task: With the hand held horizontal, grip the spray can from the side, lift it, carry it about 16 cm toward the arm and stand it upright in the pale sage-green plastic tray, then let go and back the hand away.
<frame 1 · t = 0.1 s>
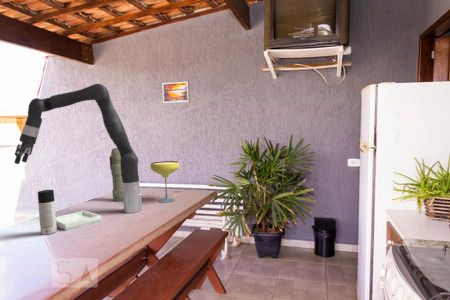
hand: (20, 162, 169), 31 cm above the table, tool tilted 20°, fingers open, 8 cm apart
cocktail glass: (166, 200, 205), on the table
spray can: (49, 233, 148), on the table
olive green statue: (120, 200, 211), on the table
sage tray: (75, 222, 162), on the table
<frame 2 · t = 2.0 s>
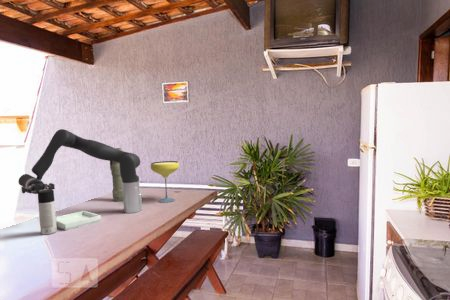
hand: (40, 190, 155), 19 cm above the table, tool horizontal, fingers open, 8 cm apart
nothing on the table moved.
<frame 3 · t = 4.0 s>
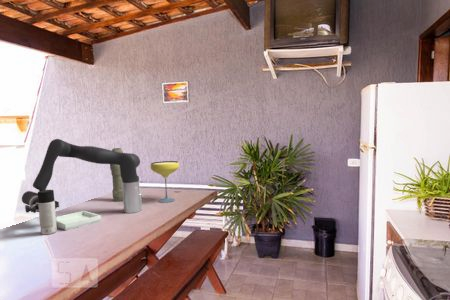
hand: (45, 208, 151), 10 cm above the table, tool horizontal, fingers open, 8 cm apart
nothing on the table moved.
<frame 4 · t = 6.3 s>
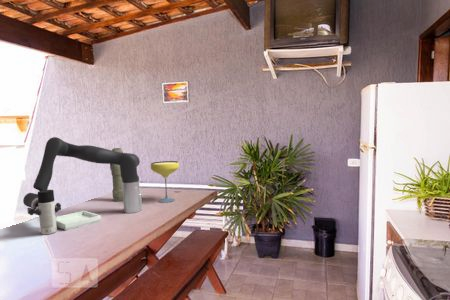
hand: (48, 211, 145), 11 cm above the table, tool horizontal, fingers closed on spray can, 6 cm apart
spray can: (49, 233, 148), on the table, touching gripper
everything else where it was.
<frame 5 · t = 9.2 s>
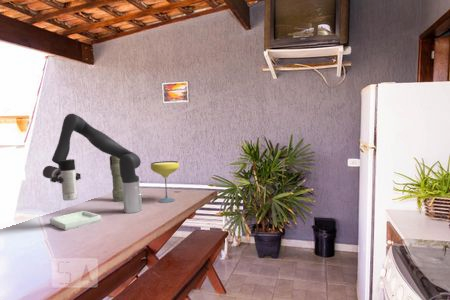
hand: (70, 179, 156), 24 cm above the table, tool horizontal, fingers closed on spray can, 6 cm apart
spray can: (70, 199, 159), point 13 cm above the table, touching gripper
everything else where it was.
when the fingers open (13 cm above the table, at t = 12.5 s): spray can drops 2 cm, resting on sage tray.
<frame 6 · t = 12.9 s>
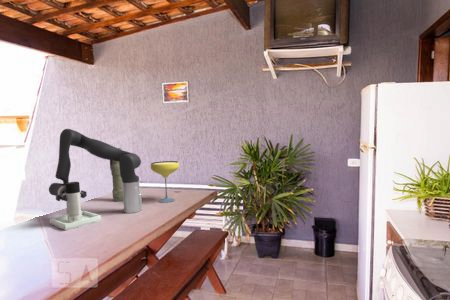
hand: (75, 197, 160), 14 cm above the table, tool horizontal, fingers open, 8 cm apart
spray can: (74, 221, 162), point 1 cm above the table, touching sage tray
everything else where it was.
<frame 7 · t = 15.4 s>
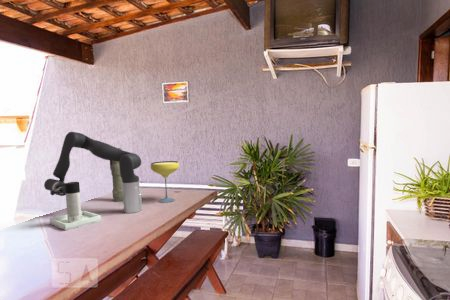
hand: (68, 192, 170), 15 cm above the table, tool horizontal, fingers open, 8 cm apart
nothing on the table moved.
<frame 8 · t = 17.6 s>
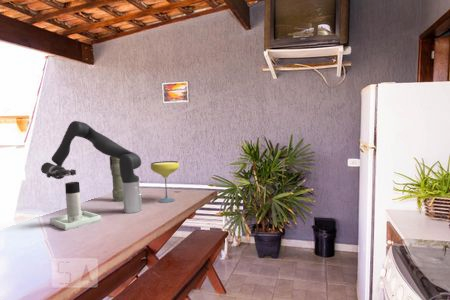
hand: (64, 174, 170), 24 cm above the table, tool horizontal, fingers open, 8 cm apart
nothing on the table moved.
at the end: spray can inside the target area on the sage tray (0.4 cm from its centre), point 0.8 cm above the sage tray's base; spray can tilted 0°; the gripper is holding nothing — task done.
